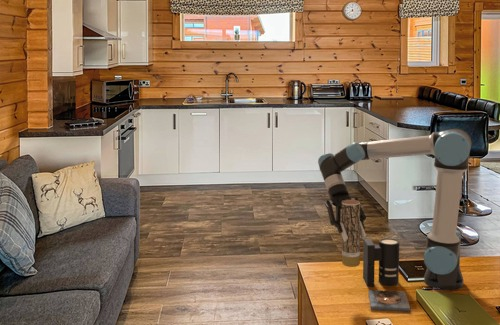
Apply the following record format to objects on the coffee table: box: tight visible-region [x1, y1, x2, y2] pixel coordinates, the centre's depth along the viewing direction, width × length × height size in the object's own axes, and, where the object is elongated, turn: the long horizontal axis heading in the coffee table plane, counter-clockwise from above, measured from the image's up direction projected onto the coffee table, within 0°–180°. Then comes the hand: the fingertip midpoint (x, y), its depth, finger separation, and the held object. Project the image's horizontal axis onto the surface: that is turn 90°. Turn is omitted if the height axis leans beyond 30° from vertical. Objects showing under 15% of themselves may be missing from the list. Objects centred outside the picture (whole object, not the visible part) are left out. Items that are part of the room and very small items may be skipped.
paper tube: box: [341, 199, 361, 268], centre depth 188 cm, size 7×7×25 cm
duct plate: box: [368, 289, 411, 313], centre depth 187 cm, size 14×14×2 cm
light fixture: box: [362, 237, 400, 288], centre depth 204 cm, size 10×14×18 cm
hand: (355, 238), depth 185 cm, fingers closed on paper tube, 7 cm apart
